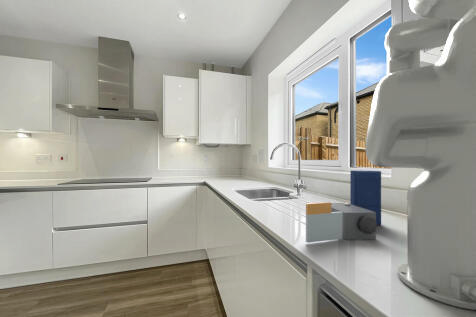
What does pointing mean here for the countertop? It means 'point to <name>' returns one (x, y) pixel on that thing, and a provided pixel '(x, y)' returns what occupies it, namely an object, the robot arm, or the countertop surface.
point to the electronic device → (366, 191)
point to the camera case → (356, 221)
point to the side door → (322, 222)
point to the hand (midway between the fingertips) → (402, 142)
